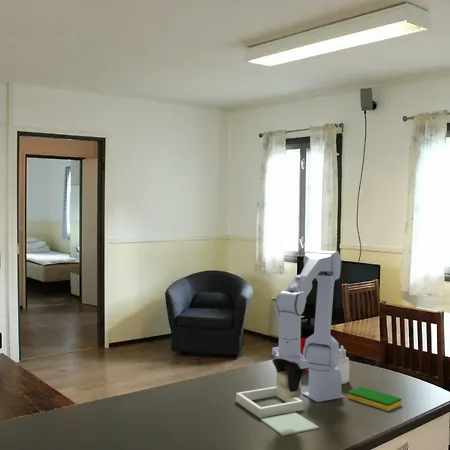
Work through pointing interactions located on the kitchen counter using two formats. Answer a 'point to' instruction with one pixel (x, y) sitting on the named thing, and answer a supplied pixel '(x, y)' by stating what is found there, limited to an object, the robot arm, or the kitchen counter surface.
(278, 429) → the pad
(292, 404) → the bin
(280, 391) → the birch block
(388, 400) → the dish sponge
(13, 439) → the kitchen counter surface
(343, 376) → the eye dropper bottle
